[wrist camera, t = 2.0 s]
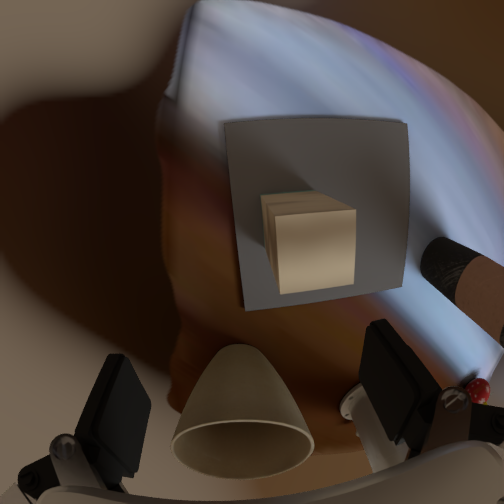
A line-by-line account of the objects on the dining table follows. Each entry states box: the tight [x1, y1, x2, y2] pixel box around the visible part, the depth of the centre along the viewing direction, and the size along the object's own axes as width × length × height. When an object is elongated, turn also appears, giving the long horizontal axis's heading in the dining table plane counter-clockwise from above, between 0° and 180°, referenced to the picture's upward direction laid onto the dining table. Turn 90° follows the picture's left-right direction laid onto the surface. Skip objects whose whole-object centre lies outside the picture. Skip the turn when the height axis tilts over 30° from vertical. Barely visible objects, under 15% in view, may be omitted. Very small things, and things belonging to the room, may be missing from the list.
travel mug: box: [421, 237, 504, 348], centre depth 25 cm, size 8×8×20 cm
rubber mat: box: [224, 118, 410, 311], centre depth 30 cm, size 22×22×1 cm
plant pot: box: [170, 344, 314, 480], centre depth 30 cm, size 15×15×16 cm
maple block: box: [260, 190, 356, 294], centre depth 25 cm, size 6×6×11 cm
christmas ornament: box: [465, 378, 490, 405], centre depth 44 cm, size 9×9×10 cm
